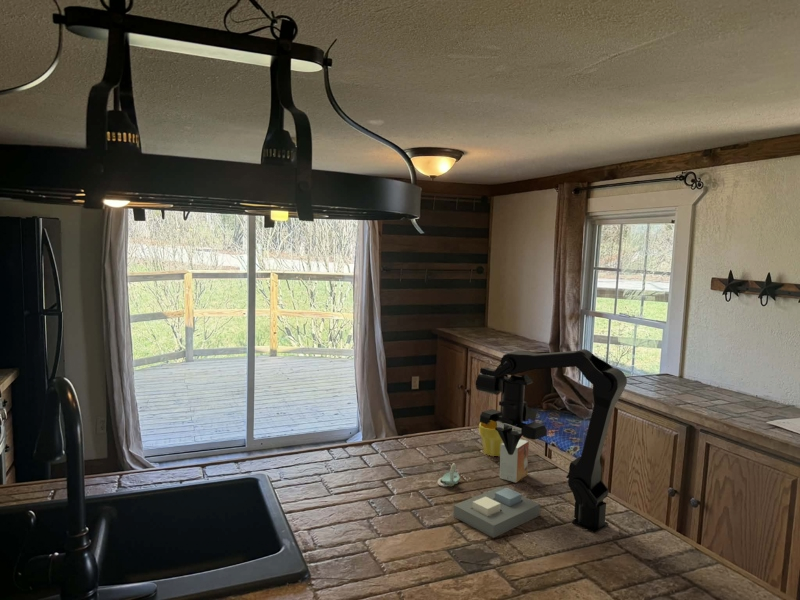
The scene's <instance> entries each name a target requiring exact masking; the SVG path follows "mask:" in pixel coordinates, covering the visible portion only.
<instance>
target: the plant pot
mask: <svg viewBox="0 0 800 600" xmlns="http://www.w3.org/2000/svg"><path fill="white" fill-rule="evenodd" d="M496 427H497V422H495V421H492V420H490V423H489V424H485V423H482V422H480V421H479V424H478V431H479V432H478V433H479V435H480V436H481V442H482V446H483V452H484V453H483V454H485V455H486V454H487V455H486V456H489V455H490V456H489V457H494V456H498V457H500V451H501V444H502V443H503V441H502V439H501V437H500V435H499V433H498V431H497V430H495V428H496Z"/></svg>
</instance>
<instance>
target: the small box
mask: <svg viewBox="0 0 800 600" xmlns="http://www.w3.org/2000/svg"><path fill="white" fill-rule="evenodd" d="M529 447H530V441H528V440H525V439H521V438H520V440H519V442H518V444H517V446H516V449H515V451H514V453H513V455H509V454H508V452H507V450H506V447H505V445H504V443H502V444H501V451H500V456H499V476H498V477H499V478H500V479H502V480H505V481H509V482H513V483H518V482H519V481H521V480H522V479H524V478H525V477H526V476H528V466H529Z"/></svg>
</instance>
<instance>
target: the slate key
mask: <svg viewBox="0 0 800 600" xmlns="http://www.w3.org/2000/svg"><path fill="white" fill-rule="evenodd" d="M504 488H505V489H503V490H500V491H498V492H495V500H496V501H498V502H500V503H502V504H504V505H506V506H508V507H511V506H513V505H516V504H518V503H520V502H521V499H522V496H523V495H522V493H520V492H518V491H515V490H514V489H511V488H508V487H504Z"/></svg>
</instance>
